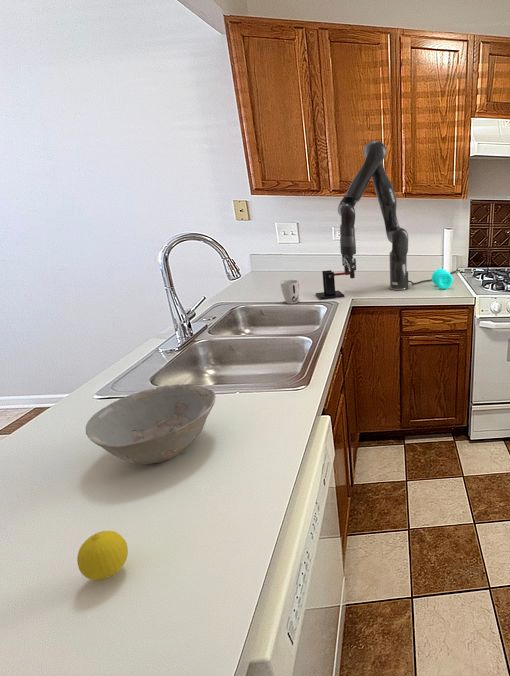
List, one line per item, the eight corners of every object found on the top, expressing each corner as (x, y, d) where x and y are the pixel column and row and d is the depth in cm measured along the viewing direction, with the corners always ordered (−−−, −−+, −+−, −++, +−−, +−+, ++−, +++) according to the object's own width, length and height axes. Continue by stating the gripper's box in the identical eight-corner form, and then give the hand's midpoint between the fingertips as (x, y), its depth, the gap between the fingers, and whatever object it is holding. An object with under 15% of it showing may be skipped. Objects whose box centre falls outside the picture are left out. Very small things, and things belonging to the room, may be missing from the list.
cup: (294, 305, 186) (292, 284, 182) (279, 303, 187) (276, 283, 184) (304, 300, 193) (302, 280, 190) (289, 299, 195) (286, 279, 191)
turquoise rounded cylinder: (436, 290, 219) (436, 272, 215) (431, 285, 227) (431, 268, 224) (453, 289, 222) (453, 271, 218) (447, 284, 231) (447, 267, 227)
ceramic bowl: (74, 496, 74) (57, 452, 71) (128, 426, 95) (117, 389, 91) (207, 475, 80) (198, 434, 77) (231, 414, 101) (224, 379, 97)
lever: (349, 274, 206) (349, 269, 205) (352, 276, 202) (352, 271, 201) (324, 276, 199) (323, 272, 199) (327, 278, 195) (326, 274, 195)
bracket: (338, 292, 208) (337, 268, 204) (344, 297, 201) (342, 272, 197) (315, 295, 202) (313, 270, 198) (320, 300, 195) (318, 274, 190)
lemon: (82, 577, 59) (65, 537, 57) (127, 552, 64) (113, 513, 61) (92, 600, 56) (75, 559, 54) (138, 572, 60) (125, 532, 58)
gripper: (360, 246, 194) (361, 278, 200) (350, 242, 206) (352, 273, 211) (345, 247, 191) (347, 280, 196) (336, 242, 202) (338, 274, 208)
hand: (349, 276), depth 204 cm, fingers open, 8 cm apart
